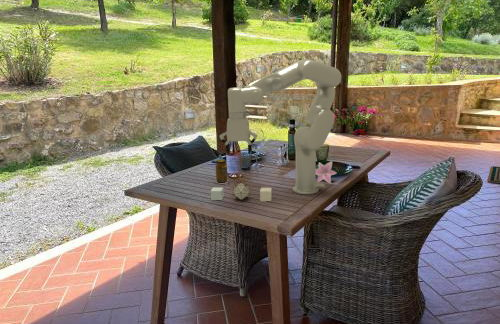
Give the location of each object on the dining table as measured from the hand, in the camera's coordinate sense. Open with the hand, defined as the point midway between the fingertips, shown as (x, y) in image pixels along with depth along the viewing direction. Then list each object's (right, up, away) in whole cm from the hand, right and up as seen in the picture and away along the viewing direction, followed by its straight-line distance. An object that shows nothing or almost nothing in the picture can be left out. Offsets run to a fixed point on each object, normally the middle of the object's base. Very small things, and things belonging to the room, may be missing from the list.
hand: (239, 153), depth 179 cm
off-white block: (+12, -22, +4) cm, 25 cm away
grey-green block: (-10, -22, +7) cm, 25 cm away
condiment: (-10, -15, +31) cm, 36 cm away
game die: (+1, -22, +6) cm, 22 cm away
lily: (+44, -14, +28) cm, 54 cm away
